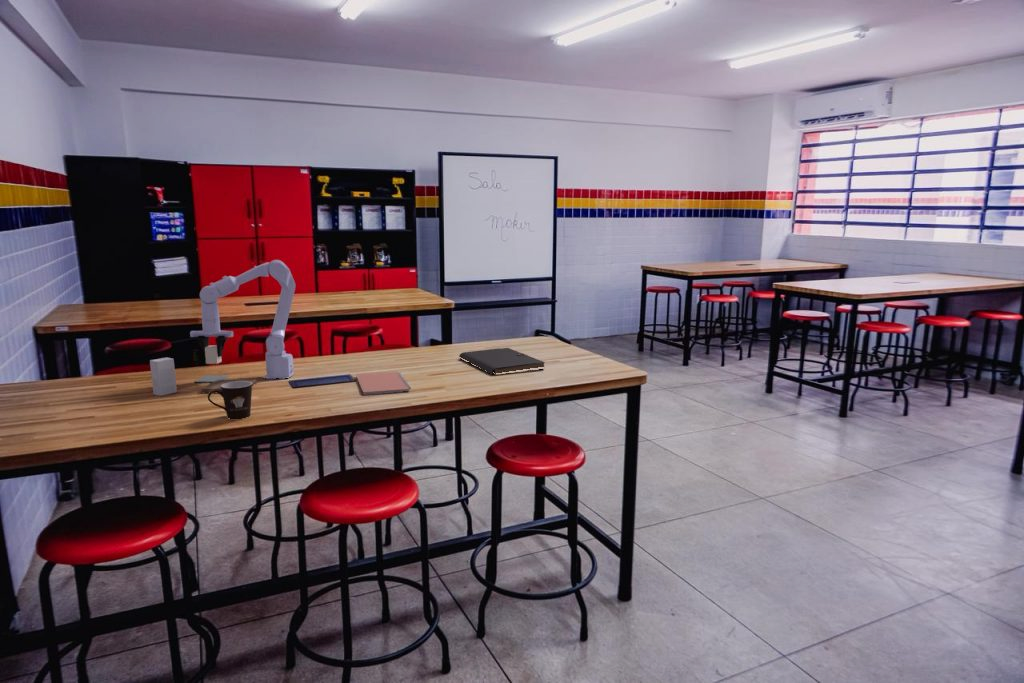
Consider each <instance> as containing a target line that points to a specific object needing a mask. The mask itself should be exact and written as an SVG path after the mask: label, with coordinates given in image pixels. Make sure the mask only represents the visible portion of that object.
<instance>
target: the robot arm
mask: <svg viewBox="0 0 1024 683" xmlns="http://www.w3.org/2000/svg"><path fill="white" fill-rule="evenodd" d="M269 274H270V276H271V277H272V278H274V279H275V280H277V282H278V283H279V285H280V287H281V291H280V294H279V298H278V303H277V308H276V311H275V316H274V319H273V324H272V327H271V330H270V334H269V336H267V337H266V340H265V345H266V350H267V351H266V352H265V353H264V354H265V367H266V370H265V371H266V375H264V376H263V377H262V379H263V378H264V379H265V378H266V380H267V379H272V380H273V379H274V380H276V378H279V379H281V380H283V379H284V380H285V378H288V379H290V378H291V377H292V376H293V375H295V372H294V371H295V370H294V357H293V354H291V353H286V352H287V351H286V350H285V348H286V347H285V343H284V340H285V335H286V334H285V332H286V328H287V324H288V319H289V316H290V311H291V307H292V303H293V300H294V299H293V298H294V294H295V291H296V283H295V282H296V281H295V280H294V278H293V277H294V276H293V275H292V273H291V269H290V268H289V267H288V266H287V265H286V264H285V262H283V261H282V260H280V259H273V260H271V261H270V262H269V261H268V262H264V263H262V264H260V265H257V266H255V267H252V268H251V269H249V270H247V271H245V272H243V273H241V274H239V275H237V276H232V275H229V276H227V275H224V276H222V279H219V280H218V281H216V282H210V283H209V285H206V286H204V287H202V288H201V290H200V292H199V298H200V300H201V301H200V306H201V307H200V310H201V322H202V323H201V324H202V330H191V331H190V332H189V335H190V336H189V337H190V338H196V341H197V343H198V344H199V346H200V348H201V349H202V352H203V355H204V356H205V347H207V346H209V344H210V338H214V340H215V343H216V345H217V353H218V357H221V358H222V356H223V350H224V347H225V344H226V341H227V340H228V338H233V337H234V331H233V330H221V321H220V311H219V310H220V309H219V307H220V306H219V305H218V298H220V299H221V298H223V297H226V296H227V295H230V294H232V293H234V292H236V291H238V290H239V287H240V285H243V284H245V283H247V282H250V281H252V280H254V279H256V278H258V277H268V278H269ZM289 377H290V378H289Z"/></svg>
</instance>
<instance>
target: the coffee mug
mask: <svg viewBox="0 0 1024 683" xmlns="http://www.w3.org/2000/svg"><path fill="white" fill-rule="evenodd" d="M221 389H222V392H221V391H217V390H215V391H212V392H210V393H207V399H208V401H209V403H211V404H212V405H213V406H216V407H218V408H221V409H223V410H224V411H225V413H226V417H228V418H230V419H229V420H231V419H239V420H243V419H242V418H245V419H247V418H246V417H248V418H249V416H251V409H252V408H251V407H252V395H253V394H252V391H253V386H252V382H249V381H234V382H228V383H224V384H222V385H221ZM215 392H217V393H215ZM212 394H219V395H220V396H221V397H222V398H223V402H224V406H222V405H220V404H217V403H215V402H213V400H211V395H212ZM228 418H227V419H228Z"/></svg>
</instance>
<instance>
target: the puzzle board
mask: <svg viewBox="0 0 1024 683" xmlns="http://www.w3.org/2000/svg"><path fill="white" fill-rule="evenodd" d="M234 381H249V382H252V387H254V386H255V385H257V384H256V383H257V379H225V380H222V379H217V380H215V381H214V382H212V383H208V384H207V385H205V386H204V387H202V388H201V393H202V392H212V391H215V390H217V391H221V392H222V389H221V385H222V384H224V383H228V382H234ZM254 384H255V385H254ZM253 385H254V386H253Z"/></svg>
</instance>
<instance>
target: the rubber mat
mask: <svg viewBox="0 0 1024 683" xmlns="http://www.w3.org/2000/svg"><path fill="white" fill-rule="evenodd" d="M229 376H230V375H204V376H202V377H200V378H198V379H197V380H195V381H194V383H195V382H214V381H215V380H217V379H222V380H224V379H225V380H227V379H228V378H227V377H229ZM226 378H227V379H226ZM229 378H230V377H229Z"/></svg>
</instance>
